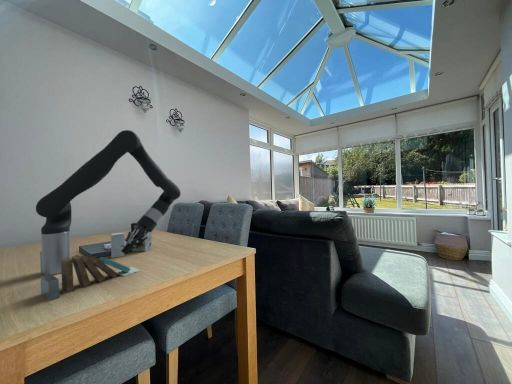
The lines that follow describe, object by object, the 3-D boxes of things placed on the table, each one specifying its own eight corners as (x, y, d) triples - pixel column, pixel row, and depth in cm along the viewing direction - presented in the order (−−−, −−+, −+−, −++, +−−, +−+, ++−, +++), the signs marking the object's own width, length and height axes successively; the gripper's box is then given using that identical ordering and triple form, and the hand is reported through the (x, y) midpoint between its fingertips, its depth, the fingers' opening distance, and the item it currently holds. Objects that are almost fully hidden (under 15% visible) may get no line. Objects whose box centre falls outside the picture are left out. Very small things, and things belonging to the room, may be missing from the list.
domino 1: (67, 293, 75) (65, 260, 75) (62, 289, 78) (60, 258, 78) (73, 291, 76) (72, 259, 76) (68, 287, 79) (67, 257, 79)
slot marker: (123, 276, 88) (123, 275, 88) (114, 272, 93) (114, 272, 93) (140, 270, 94) (140, 270, 94) (131, 267, 99) (131, 267, 99)
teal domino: (128, 272, 91) (103, 262, 84) (122, 270, 94) (98, 260, 87) (130, 268, 92) (106, 258, 85) (124, 266, 95) (101, 256, 88)
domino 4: (114, 277, 87) (92, 261, 81) (108, 275, 90) (87, 259, 84) (118, 273, 88) (96, 257, 82) (112, 271, 91) (91, 255, 85)
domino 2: (84, 287, 79) (76, 259, 77) (79, 284, 82) (71, 257, 80) (90, 284, 81) (82, 256, 79) (85, 281, 83) (77, 254, 81)
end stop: (49, 300, 70) (48, 281, 70) (41, 294, 75) (40, 276, 75) (59, 297, 72) (58, 279, 72) (51, 291, 77) (50, 274, 77)
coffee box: (131, 251, 127) (130, 223, 127) (138, 248, 134) (137, 221, 133) (145, 251, 126) (144, 223, 126) (152, 248, 132) (151, 221, 132)
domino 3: (100, 282, 83) (83, 260, 79) (95, 279, 86) (78, 258, 82) (105, 278, 84) (88, 256, 80) (99, 276, 87) (83, 254, 83)
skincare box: (111, 258, 114) (110, 235, 114) (111, 256, 118) (110, 233, 118) (125, 256, 118) (124, 233, 118) (124, 254, 122) (123, 232, 122)
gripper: (136, 214, 104) (109, 246, 94) (152, 215, 97) (124, 249, 87) (148, 223, 108) (122, 255, 98) (164, 225, 101) (138, 259, 91)
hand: (123, 252), depth 92 cm, fingers closed
